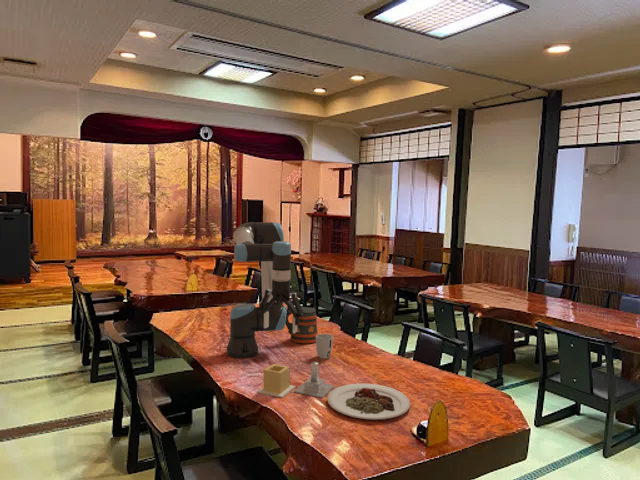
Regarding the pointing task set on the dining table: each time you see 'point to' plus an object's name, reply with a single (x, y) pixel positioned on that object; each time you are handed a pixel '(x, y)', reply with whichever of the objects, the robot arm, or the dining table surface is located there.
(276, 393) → the felt mat
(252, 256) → the robot arm
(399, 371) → the dining table surface
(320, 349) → the cup
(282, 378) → the yellow square planter
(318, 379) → the post stand
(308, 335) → the beer stein
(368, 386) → the plated food
